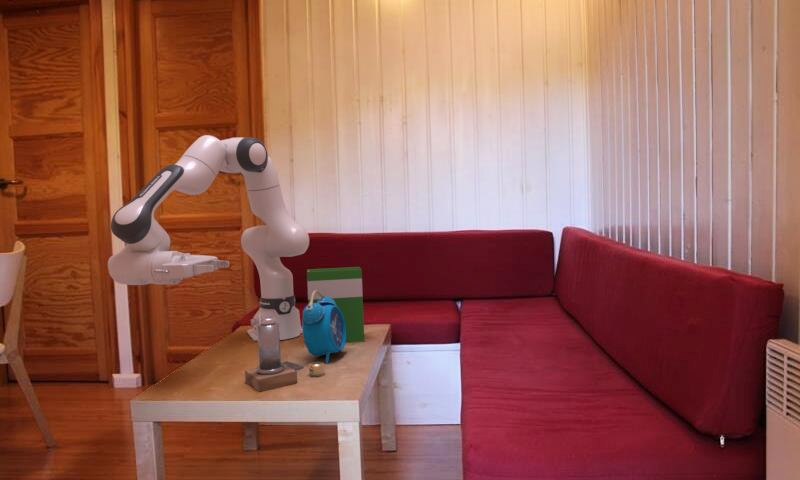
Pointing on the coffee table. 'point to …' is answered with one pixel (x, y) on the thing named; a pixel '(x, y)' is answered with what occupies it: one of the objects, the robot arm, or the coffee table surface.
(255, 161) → the robot arm
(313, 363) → the brass knob
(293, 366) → the steel plate
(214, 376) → the coffee table surface
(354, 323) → the hardback book
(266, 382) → the stand
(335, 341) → the alarm clock
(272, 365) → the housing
